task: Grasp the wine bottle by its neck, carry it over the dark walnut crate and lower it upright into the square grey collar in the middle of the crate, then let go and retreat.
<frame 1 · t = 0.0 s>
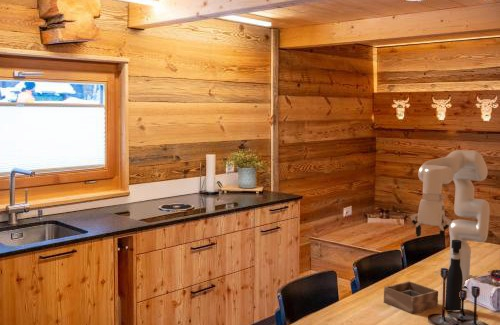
hand: (429, 237, 241), 31 cm above the table, tool pointing down, fingers open, 9 cm apart
wine bottle: (452, 310, 246), on the table
crate: (410, 304, 251), on the table
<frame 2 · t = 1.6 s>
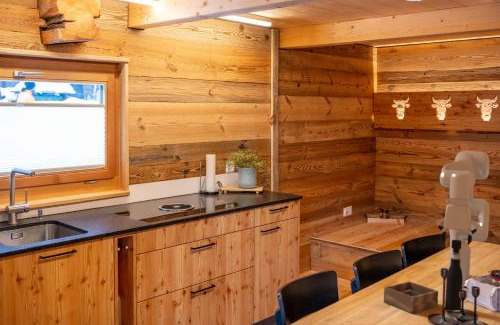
hand: (456, 242, 242), 29 cm above the table, tool pointing down, fingers open, 9 cm apart
nothing on the table moved.
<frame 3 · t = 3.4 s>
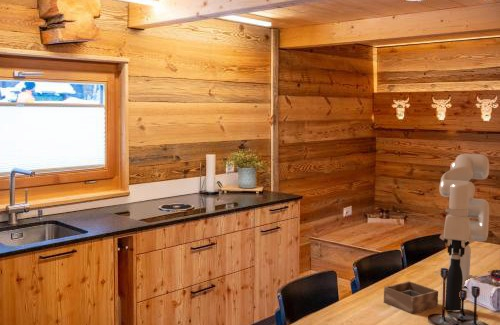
hand: (455, 255, 243), 24 cm above the table, tool pointing down, fingers closed on wine bottle, 3 cm apart
wine bottle: (452, 310, 246), on the table, touching gripper
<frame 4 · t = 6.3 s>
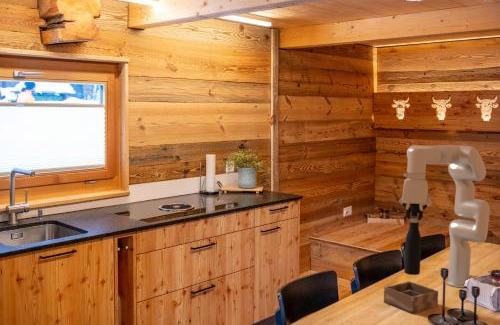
hand: (414, 218, 247), 38 cm above the table, tool pointing down, fingers closed on wine bottle, 3 cm apart
wine bottle: (411, 273, 249), point 14 cm above the table, touching gripper
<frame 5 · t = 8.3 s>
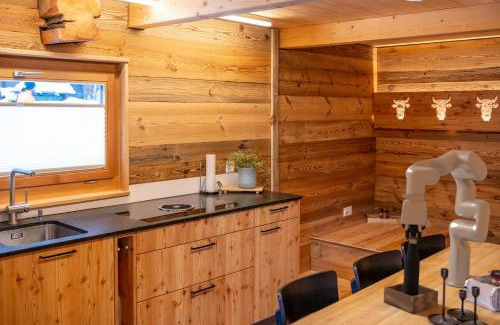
hand: (413, 239, 248), 29 cm above the table, tool pointing down, fingers closed on wine bottle, 3 cm apart
wine bottle: (410, 293, 250), point 5 cm above the table, touching gripper
when the fingers open (26 cm above the table, at t = 9.6 s): wine bottle drops 1 cm, resting on crate.
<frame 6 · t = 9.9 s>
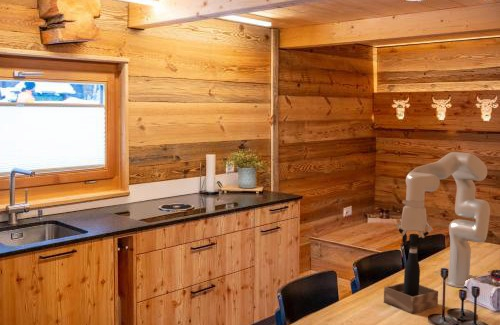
hand: (413, 244, 248), 27 cm above the table, tool pointing down, fingers open, 6 cm apart
wine bottle: (410, 302, 251), point 1 cm above the table, touching crate
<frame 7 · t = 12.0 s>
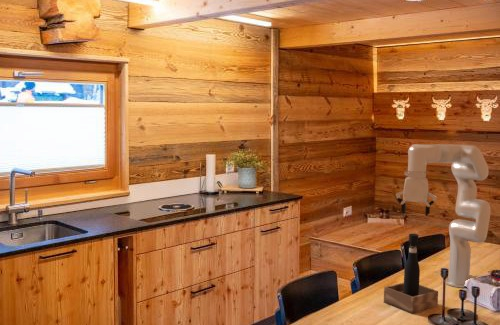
hand: (415, 214, 250), 39 cm above the table, tool pointing down, fingers open, 9 cm apart
nothing on the table moved.
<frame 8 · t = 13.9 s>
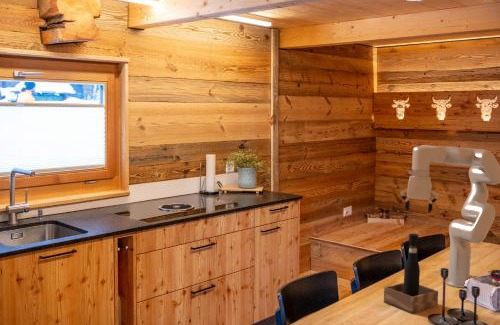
hand: (418, 211, 263), 38 cm above the table, tool pointing down, fingers open, 9 cm apart
nothing on the table moved.
at the end: wine bottle 0.2 cm from the crate (horizontally); wine bottle point 0.8 cm above the table; wine bottle tilted 0° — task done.
